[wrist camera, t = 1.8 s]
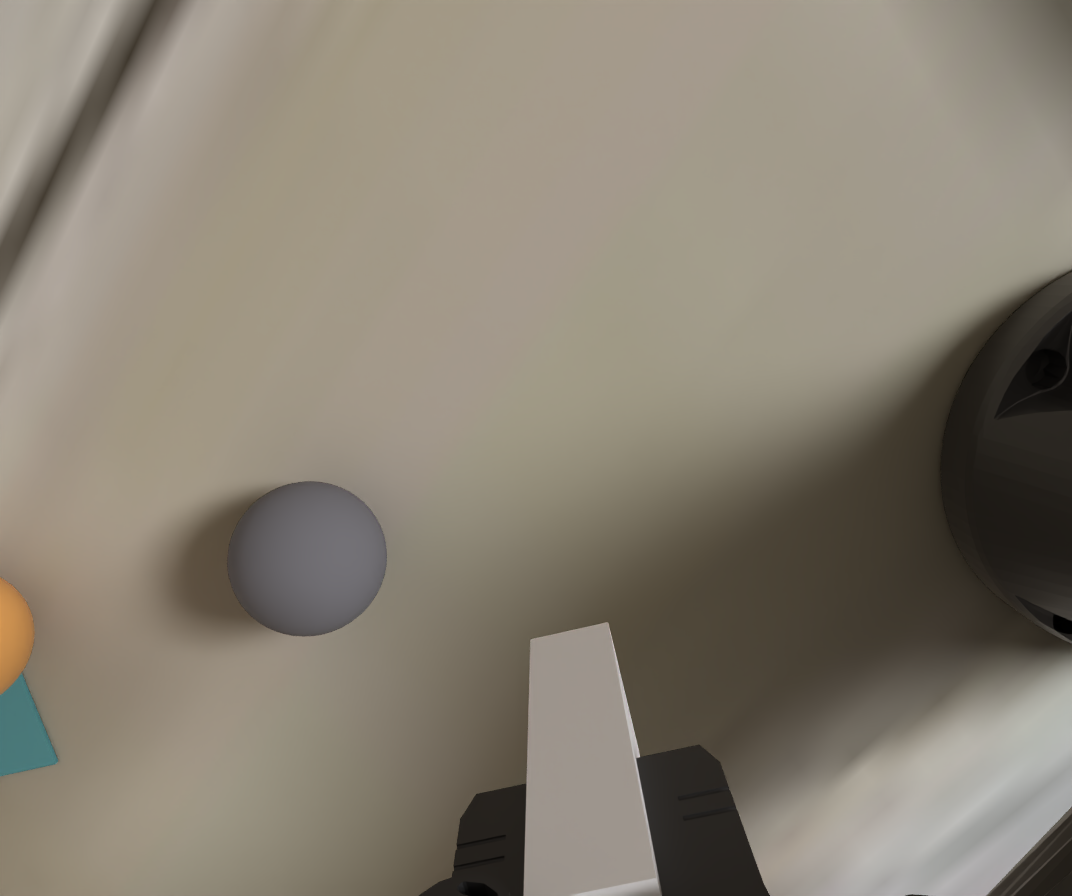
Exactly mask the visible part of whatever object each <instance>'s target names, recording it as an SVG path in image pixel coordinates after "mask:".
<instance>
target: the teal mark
mask: <svg viewBox="0 0 1072 896" xmlns="http://www.w3.org/2000/svg"><path fill="white" fill-rule="evenodd" d="M57 762H58V759H57V757H56V754H55V752H54V749H53V747H52V745H51V742H50V740H49V737H48V735H47V733H46V730H45V728H44V725H43V723H42V721H41V718H40V716H39V713H38V711H37V709H36V706H35V704H34V701H33V699H32V697H31V694H30V692H29V689H28V687H27V685H26V682H25V680H24V677H23V675H22V673H21V674H20V676H19V677H18V678H17V679H16V681H15V682H14V683H13V684H12V685H11V686H10V687H9V688H8V689H7V690H6V691H5V692H4V693H3V694H1V695H0V776H4V775H8V774H13V773H17V772H22V771H26V770H31V769H36V768H40V767H45V766H49V765H54V764H56V763H57Z"/></svg>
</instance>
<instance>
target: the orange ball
mask: <svg viewBox="0 0 1072 896" xmlns="http://www.w3.org/2000/svg"><path fill="white" fill-rule="evenodd" d="M33 643H34V623H33V617H32V614H31V611H30V609H29V607H28V604H27V603H26V601H25V599H24V598H23V596H22V595H21V594H20V593H19V592H18V591H17V590H16V589H15V588H14V587H13V586H12V585H11V584H10V583H8V582H7V581H5V580H4V579H2V578H0V695H1V694H3V693H4V692H5V691H6V690H7V689H8V688H9V687H10V686H11V685H12V684H13V683H14V682H15V681H16V679H17V678H18V677H19V676H20V674H21V673H22V671H23V669H24V668H25V666H26V664H27V662H28V660H29V657H30V655H31V652H32V648H33Z"/></svg>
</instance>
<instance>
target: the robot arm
mask: <svg viewBox="0 0 1072 896" xmlns="http://www.w3.org/2000/svg"><path fill="white" fill-rule="evenodd" d="M941 487H942V496H943V502H944V508H945V512H946V516H947V519H948V523H949V526H950V529H951V531H952V534H953V537H954V539H955V541H956V543H957V545H958V548H959V549H960V551H961V553H962V555H963V556H964V558H965V560H966V561H967V563H968V564H969V566H970V567H971V569H972V570H973V571H974V572H975V574H976V575H977V576H978V577H979V579H980V580H981V581H982V582H983V583H984V584H985V585H986V586H987V587H988V588H989V589H990V590H991V591H992V592H993V593H994V594H996V595H997V596H998V597H999V598H1000V599H1002V600H1003V601H1004V602H1006V603H1007V604H1008V605H1010V606H1011V607H1012V608H1014V609H1015V610H1017V611H1018V612H1019V613H1021V614H1022V615H1024V616H1025V617H1026V618H1028V619H1029V620H1030V621H1032V622H1033V623H1035V624H1036V625H1037V626H1039V627H1041V628H1042V629H1044V630H1046V631H1047V632H1049V633H1051V634H1053V635H1055V636H1057V637H1059V638H1061V639H1063V640H1065V641H1067V642H1069V643H1072V272H1070V273H1068V274H1066V275H1064V276H1063V277H1061V278H1059V279H1058V280H1056V281H1054V282H1053V283H1051V284H1050V285H1048V286H1047V287H1045V288H1044V289H1042V290H1041V291H1040V292H1038V293H1037V294H1035V295H1034V296H1033V297H1032V298H1030V299H1029V300H1028V301H1027V302H1025V303H1024V304H1023V305H1022V306H1021V307H1020V308H1018V309H1017V310H1016V311H1015V312H1014V313H1013V314H1012V315H1011V316H1010V317H1009V318H1008V319H1007V320H1006V321H1005V322H1004V323H1003V324H1002V325H1001V326H1000V327H999V328H998V330H997V331H996V332H995V333H994V334H993V336H992V337H991V338H990V339H989V340H988V342H987V343H986V344H985V346H984V347H983V349H982V350H981V351H980V353H979V354H978V356H977V357H976V359H975V361H974V362H973V364H972V365H971V367H970V369H969V371H968V372H967V374H966V376H965V378H964V380H963V382H962V384H961V386H960V388H959V391H958V393H957V395H956V398H955V400H954V403H953V406H952V408H951V411H950V415H949V418H948V422H947V425H946V430H945V435H944V440H943V447H942V456H941ZM419 896H770V895H769V893H768V891H767V889H766V887H765V886H764V884H763V881H762V878H761V875H760V872H759V870H758V867H757V864H756V861H755V859H754V856H753V853H752V850H751V847H750V845H749V842H748V839H747V836H746V834H745V831H744V828H743V825H742V822H741V820H740V817H739V814H738V811H737V810H736V806H735V803H734V800H733V797H732V795H731V792H730V790H729V787H728V784H727V781H726V778H725V775H724V772H723V770H722V767H721V764H720V762H719V761H718V760H717V759H716V758H714V757H713V756H712V755H711V754H710V753H708V752H707V751H706V750H705V749H704V748H703V747H701V746H700V745H695V746H691V747H686V748H681V749H676V750H672V751H667V752H662V753H657V754H653V755H648V756H643V757H640V754H639V749H638V744H637V740H636V736H635V732H634V728H633V724H632V719H631V715H630V711H629V707H628V703H627V699H626V694H625V690H624V686H623V682H622V678H621V674H620V669H619V665H618V661H617V657H616V653H615V649H614V644H613V640H612V636H611V632H610V628H609V624H608V622H606V623H602V624H597V625H593V626H588V627H584V628H579V629H574V630H570V631H565V632H561V633H556V634H552V635H547V636H543V637H538V638H534V639H530V673H529V711H528V748H527V784H522V785H517V786H513V787H508V788H503V789H499V790H494V791H489V792H484V793H480V794H476V796H475V797H474V799H473V800H472V802H471V803H470V805H469V806H468V808H467V810H466V811H465V813H464V814H463V816H462V817H461V819H460V825H459V832H458V839H457V850H456V853H455V860H454V871H453V873H452V878H449V879H446V880H443V881H441V882H438V883H437V884H435V885H434V886H432V887H431V888H429V889H428V890H426V891H425V892H423V893H422V894H420V895H419ZM906 896H926V895H906ZM987 896H1072V807H1071V808H1070V809H1069V810H1068V811H1067V812H1066V813H1065V814H1064V815H1063V816H1062V818H1061V819H1060V820H1059V821H1058V822H1057V823H1056V824H1055V825H1054V826H1053V827H1052V828H1051V829H1050V830H1049V831H1048V832H1047V833H1046V834H1045V835H1044V836H1043V837H1042V838H1041V839H1040V840H1039V841H1038V843H1037V844H1036V845H1035V846H1034V847H1033V848H1032V849H1031V850H1030V851H1029V852H1028V853H1027V854H1026V855H1025V856H1024V857H1023V858H1022V859H1021V860H1020V861H1019V862H1018V863H1017V864H1016V865H1015V866H1014V867H1013V869H1012V870H1011V871H1010V872H1009V873H1008V874H1007V875H1006V876H1005V877H1004V878H1003V879H1002V880H1001V881H1000V882H999V883H998V884H997V885H996V886H995V887H994V888H993V889H992V890H991V891H990V892H989V894H988V895H987Z"/></svg>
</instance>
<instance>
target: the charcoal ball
mask: <svg viewBox="0 0 1072 896" xmlns="http://www.w3.org/2000/svg"><path fill="white" fill-rule="evenodd" d="M386 562H387V551H386V542H385V538H384V534H383V531H382V529H381V526H380V524H379V522H378V520H377V519H376V517H375V515H374V514H373V513H372V511H371V510H370V509H369V508H368V506H367V505H366V504H365V503H364V502H363V501H361V500H360V499H359V498H358V497H357V496H355V495H354V494H352V493H351V492H349V491H347V490H345V489H343V488H341V487H338V486H335V485H332V484H327V483H323V482H313V481H309V482H298V483H292V484H288V485H285V486H282V487H279V488H277V489H275V490H272V491H270V492H269V493H267V494H266V495H264V496H262V497H261V498H259V499H258V500H257V501H256V502H255V503H254V504H252V505H251V507H250V508H249V509H248V510H247V511H246V512H245V513H244V515H243V516H242V517H241V519H240V520H239V522H238V524H237V526H236V528H235V530H234V532H233V534H232V537H231V540H230V544H229V550H228V563H227V567H228V575H229V579H230V582H231V586H232V588H233V591H234V593H235V596H236V597H237V599H238V601H239V602H240V604H241V605H242V606H243V608H244V609H245V610H246V611H247V612H248V613H249V614H250V615H251V616H252V617H253V618H254V619H255V620H257V621H258V622H259V623H261V624H262V625H264V626H266V627H267V628H270V629H272V630H274V631H277V632H280V633H283V634H287V635H292V636H316V635H322V634H325V633H329V632H332V631H335V630H337V629H339V628H341V627H344V626H345V625H347V624H349V623H350V622H352V621H353V620H354V619H355V618H357V617H358V616H359V615H360V614H362V613H363V612H364V611H365V609H366V608H367V607H368V606H369V605H370V603H371V602H372V600H373V599H374V598H375V596H376V595H377V593H378V591H379V589H380V587H381V584H382V581H383V578H384V575H385V570H386Z"/></svg>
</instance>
